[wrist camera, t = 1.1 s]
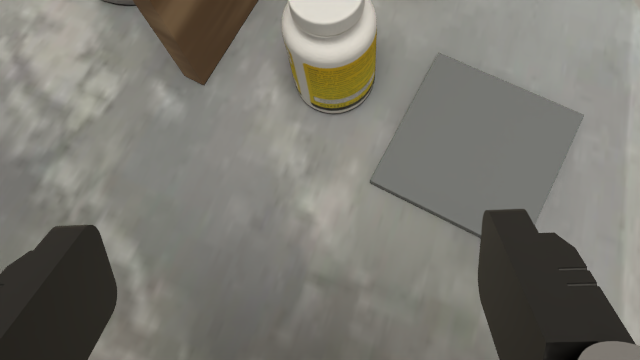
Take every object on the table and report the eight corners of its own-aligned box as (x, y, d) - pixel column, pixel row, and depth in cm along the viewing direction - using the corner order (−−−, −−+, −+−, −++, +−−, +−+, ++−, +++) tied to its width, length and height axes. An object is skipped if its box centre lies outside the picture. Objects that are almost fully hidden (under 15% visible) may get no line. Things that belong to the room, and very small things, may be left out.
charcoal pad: (369, 183, 35) (370, 180, 34) (437, 57, 37) (438, 52, 36) (518, 256, 33) (521, 254, 32) (580, 118, 35) (584, 115, 34)
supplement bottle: (391, 78, 36) (401, -12, 27) (333, 131, 36) (322, 58, 26) (336, 28, 38) (327, -73, 28) (279, 79, 37) (250, -8, 28)
